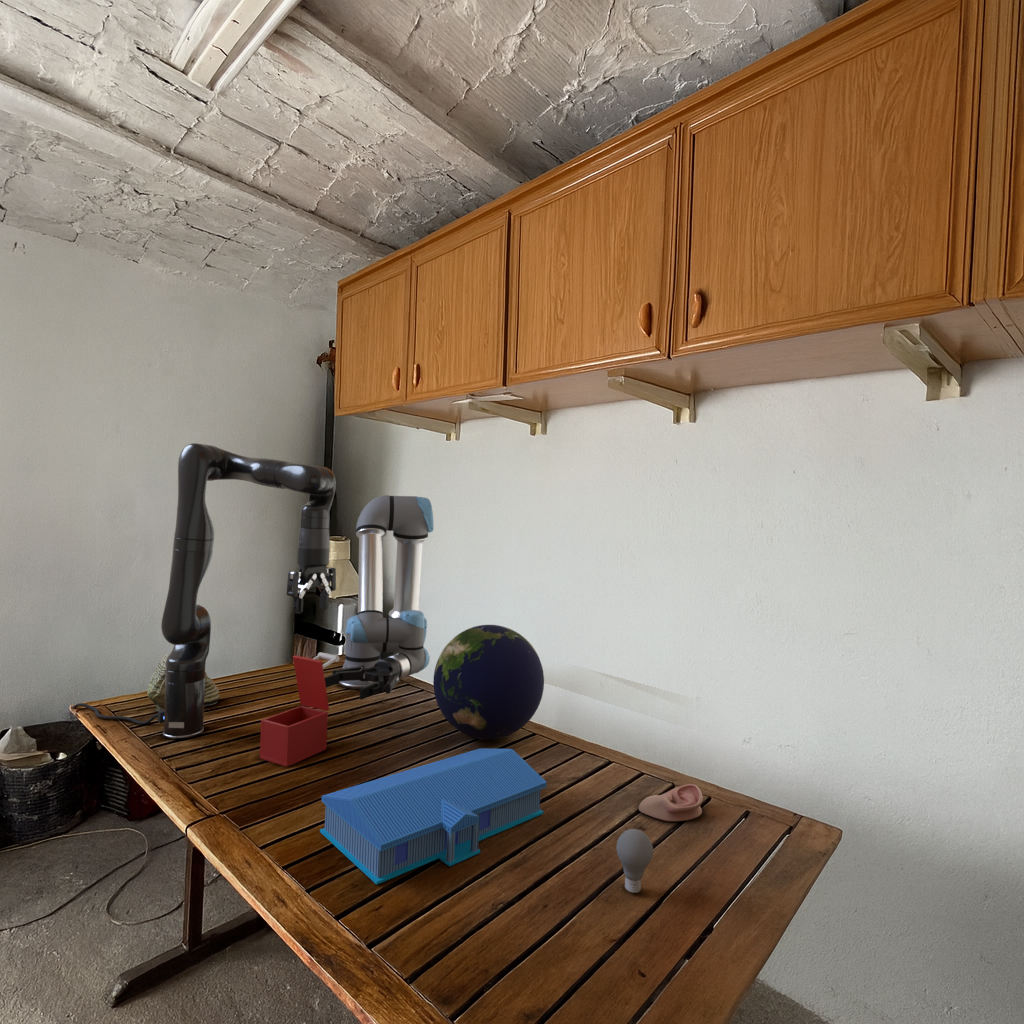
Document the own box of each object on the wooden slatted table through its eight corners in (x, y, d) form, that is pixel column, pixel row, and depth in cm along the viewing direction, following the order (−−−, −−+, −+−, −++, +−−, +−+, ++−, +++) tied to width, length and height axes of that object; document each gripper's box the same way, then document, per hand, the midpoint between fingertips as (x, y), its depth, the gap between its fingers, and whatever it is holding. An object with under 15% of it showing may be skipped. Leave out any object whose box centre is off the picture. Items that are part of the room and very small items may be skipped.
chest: (286, 767, 147) (288, 727, 147) (259, 758, 152) (261, 719, 151) (326, 749, 159) (328, 712, 159) (300, 741, 163) (301, 705, 163)
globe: (409, 744, 164) (414, 628, 163) (461, 710, 191) (466, 611, 191) (517, 767, 152) (522, 643, 152) (556, 727, 180) (560, 623, 180)
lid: (319, 662, 155) (342, 648, 162) (292, 656, 159) (316, 643, 166) (326, 711, 158) (349, 695, 165) (300, 704, 162) (323, 689, 169)
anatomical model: (639, 798, 130) (639, 775, 142) (638, 817, 130) (638, 792, 142) (706, 807, 128) (701, 783, 139) (705, 826, 128) (700, 800, 139)
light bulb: (610, 879, 108) (613, 822, 108) (644, 879, 109) (647, 822, 109) (619, 902, 102) (622, 840, 102) (655, 901, 103) (658, 840, 103)
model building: (386, 894, 102) (389, 832, 102) (318, 830, 120) (320, 778, 120) (555, 819, 128) (557, 770, 128) (478, 776, 146) (480, 733, 146)
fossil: (144, 707, 182) (145, 655, 182) (212, 696, 194) (213, 647, 194) (151, 716, 175) (153, 662, 175) (221, 703, 188) (223, 653, 188)
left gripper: (303, 548, 150) (300, 616, 150) (345, 545, 162) (342, 608, 163) (280, 546, 153) (278, 613, 153) (323, 543, 166) (320, 605, 166)
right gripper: (425, 690, 182) (377, 713, 163) (357, 673, 193) (305, 693, 174) (426, 664, 181) (378, 684, 162) (358, 649, 193) (306, 666, 174)
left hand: (311, 610), depth 158 cm, fingers open, 8 cm apart
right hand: (340, 689), depth 168 cm, fingers open, 13 cm apart
